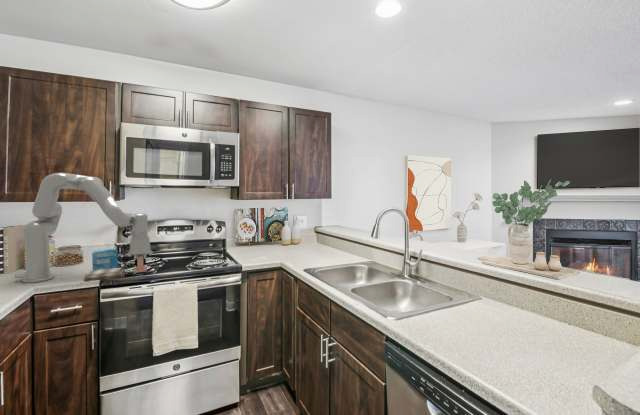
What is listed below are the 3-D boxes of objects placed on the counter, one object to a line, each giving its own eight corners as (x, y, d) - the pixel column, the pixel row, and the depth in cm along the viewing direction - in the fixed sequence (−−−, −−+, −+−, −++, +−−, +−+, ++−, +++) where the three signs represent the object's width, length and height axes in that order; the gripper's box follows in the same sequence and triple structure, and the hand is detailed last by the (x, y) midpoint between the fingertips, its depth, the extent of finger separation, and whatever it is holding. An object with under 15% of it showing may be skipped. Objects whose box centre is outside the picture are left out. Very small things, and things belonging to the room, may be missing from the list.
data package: (95, 272, 182) (94, 252, 181) (92, 271, 185) (92, 251, 184) (118, 268, 192) (117, 249, 191) (115, 267, 194) (114, 248, 194)
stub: (134, 272, 176) (134, 259, 176) (134, 269, 184) (134, 256, 183) (146, 271, 179) (146, 258, 179) (145, 268, 187) (145, 255, 186)
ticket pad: (84, 281, 164) (84, 274, 163) (86, 276, 172) (86, 270, 172) (124, 277, 173) (124, 270, 173) (124, 273, 182) (124, 266, 181)
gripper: (123, 236, 173) (123, 268, 174) (156, 234, 182) (156, 265, 182) (123, 234, 179) (123, 265, 180) (155, 233, 188) (155, 263, 189)
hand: (140, 265), depth 181 cm, fingers closed on stub, 3 cm apart
